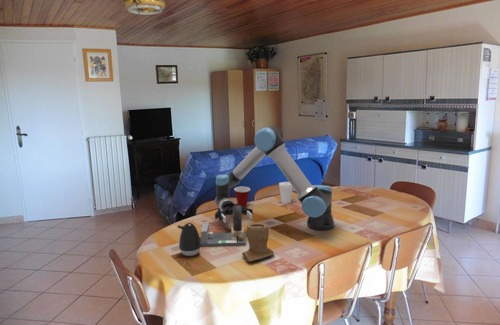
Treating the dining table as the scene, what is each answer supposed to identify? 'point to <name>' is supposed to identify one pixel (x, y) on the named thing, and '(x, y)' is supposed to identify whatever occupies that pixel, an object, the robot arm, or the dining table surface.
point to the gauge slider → (237, 224)
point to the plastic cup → (242, 195)
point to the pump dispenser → (189, 240)
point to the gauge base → (218, 238)
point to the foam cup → (285, 192)
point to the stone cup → (257, 242)
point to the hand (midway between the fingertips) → (238, 218)
